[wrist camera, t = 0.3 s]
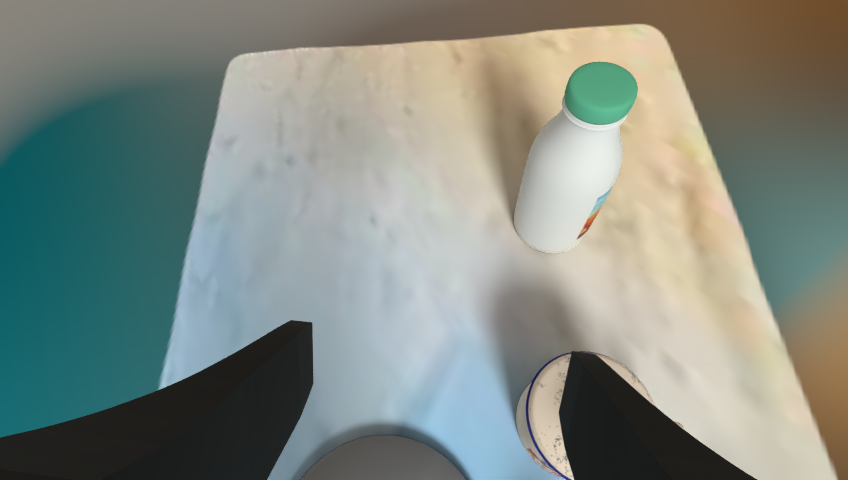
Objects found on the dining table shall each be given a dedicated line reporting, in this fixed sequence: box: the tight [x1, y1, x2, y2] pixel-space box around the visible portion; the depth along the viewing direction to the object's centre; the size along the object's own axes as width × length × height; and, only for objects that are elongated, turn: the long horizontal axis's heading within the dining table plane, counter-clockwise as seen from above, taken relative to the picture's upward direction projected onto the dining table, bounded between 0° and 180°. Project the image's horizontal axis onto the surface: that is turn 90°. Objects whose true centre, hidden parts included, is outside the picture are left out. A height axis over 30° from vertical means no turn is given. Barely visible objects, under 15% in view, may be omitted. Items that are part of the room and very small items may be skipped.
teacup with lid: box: [516, 352, 684, 480], centre depth 33 cm, size 12×9×12 cm
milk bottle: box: [514, 62, 638, 253], centre depth 38 cm, size 8×8×20 cm
